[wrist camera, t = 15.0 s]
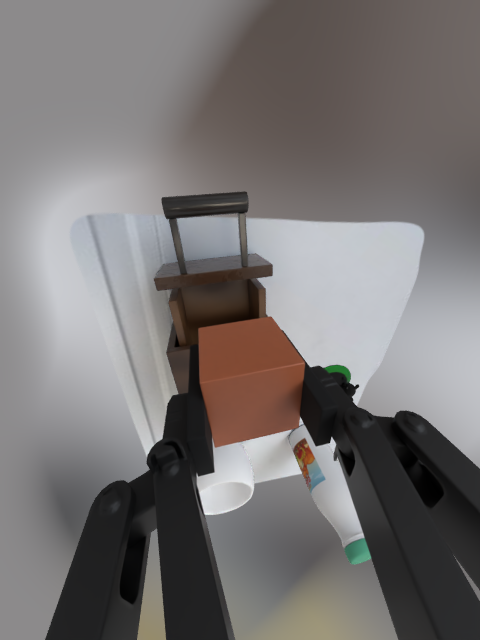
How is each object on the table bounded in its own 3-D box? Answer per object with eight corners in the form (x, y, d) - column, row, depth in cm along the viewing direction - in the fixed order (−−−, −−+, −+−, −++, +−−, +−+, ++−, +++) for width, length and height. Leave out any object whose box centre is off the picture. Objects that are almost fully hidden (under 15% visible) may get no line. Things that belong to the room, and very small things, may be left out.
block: (198, 327, 13) (199, 383, 9) (271, 315, 14) (305, 362, 10) (209, 383, 16) (214, 448, 11) (271, 370, 16) (299, 428, 12)
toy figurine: (347, 395, 44) (366, 419, 39) (304, 406, 43) (318, 432, 38) (354, 360, 40) (377, 381, 34) (305, 371, 38) (322, 395, 33)
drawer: (147, 202, 21) (130, 198, 16) (254, 194, 23) (273, 188, 17) (186, 359, 31) (185, 391, 26) (259, 346, 33) (272, 374, 27)
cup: (253, 426, 43) (267, 478, 35) (234, 461, 48) (242, 514, 39) (196, 422, 39) (196, 479, 31) (181, 460, 44) (177, 519, 35)
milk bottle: (309, 418, 46) (379, 544, 28) (324, 431, 49) (394, 550, 32) (282, 436, 47) (332, 568, 30) (298, 448, 50) (352, 571, 33)
